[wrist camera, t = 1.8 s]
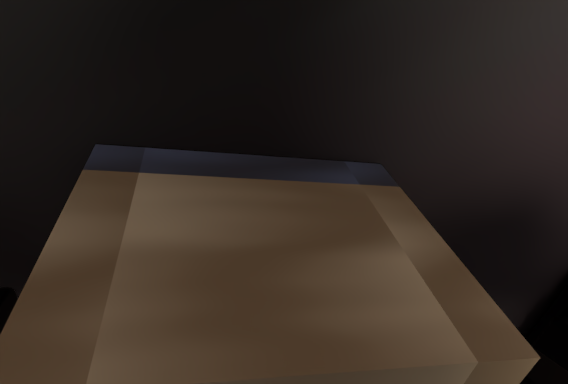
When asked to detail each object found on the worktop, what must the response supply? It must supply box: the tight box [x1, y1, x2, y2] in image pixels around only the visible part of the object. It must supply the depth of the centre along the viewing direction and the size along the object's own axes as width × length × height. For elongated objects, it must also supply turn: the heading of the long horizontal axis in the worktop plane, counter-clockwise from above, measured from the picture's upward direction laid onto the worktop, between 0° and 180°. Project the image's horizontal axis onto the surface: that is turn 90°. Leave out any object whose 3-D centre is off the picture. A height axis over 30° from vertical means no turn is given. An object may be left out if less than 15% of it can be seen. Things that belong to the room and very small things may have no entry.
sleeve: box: [0, 144, 540, 384], centre depth 8 cm, size 6×6×5 cm
